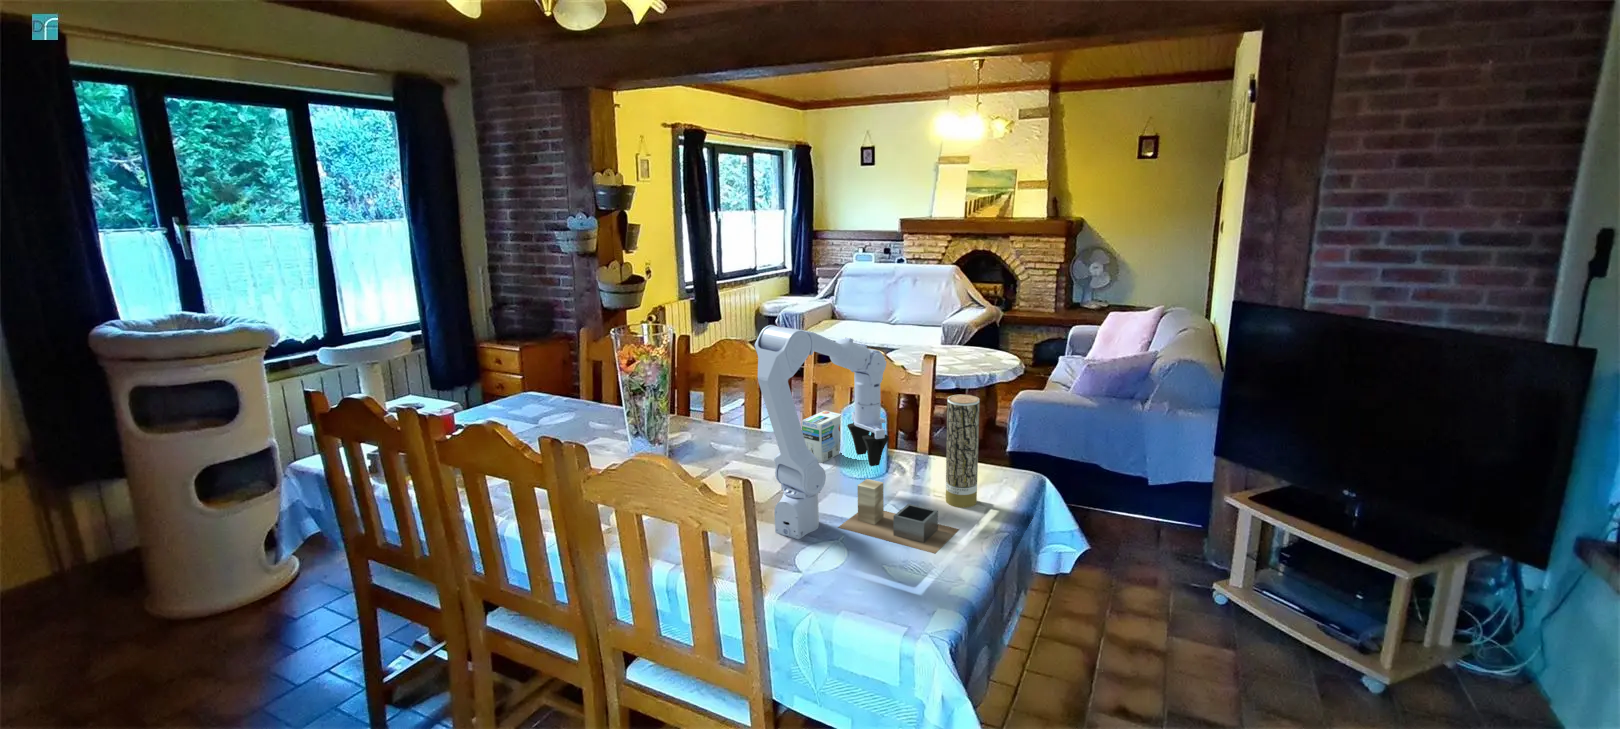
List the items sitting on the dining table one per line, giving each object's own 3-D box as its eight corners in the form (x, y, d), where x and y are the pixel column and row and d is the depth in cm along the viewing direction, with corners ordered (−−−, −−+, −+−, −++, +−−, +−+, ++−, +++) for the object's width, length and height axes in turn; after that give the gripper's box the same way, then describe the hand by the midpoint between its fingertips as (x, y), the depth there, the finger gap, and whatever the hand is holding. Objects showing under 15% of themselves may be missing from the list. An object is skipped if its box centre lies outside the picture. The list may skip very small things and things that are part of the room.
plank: (935, 559, 143) (935, 553, 143) (837, 532, 155) (837, 527, 155) (959, 534, 153) (959, 529, 153) (866, 511, 165) (865, 506, 165)
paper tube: (976, 513, 162) (979, 403, 156) (945, 511, 164) (947, 402, 158) (976, 500, 169) (979, 394, 163) (945, 498, 170) (947, 394, 164)
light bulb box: (822, 463, 194) (821, 424, 191) (801, 458, 198) (800, 420, 195) (845, 451, 202) (844, 413, 199) (825, 446, 206) (824, 409, 203)
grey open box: (923, 543, 147) (923, 523, 146) (893, 535, 151) (893, 515, 150) (937, 530, 153) (938, 510, 152) (908, 522, 156) (908, 503, 155)
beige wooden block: (874, 524, 156) (874, 489, 154) (858, 520, 158) (857, 485, 156) (883, 517, 159) (883, 482, 157) (867, 513, 161) (866, 478, 159)
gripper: (897, 408, 159) (897, 468, 162) (871, 391, 173) (871, 447, 176) (867, 412, 157) (867, 472, 160) (843, 394, 171) (843, 450, 174)
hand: (867, 459), depth 168 cm, fingers open, 7 cm apart
